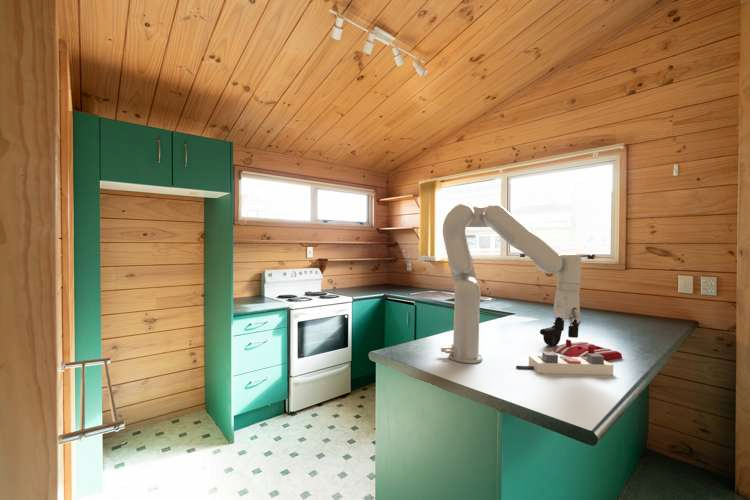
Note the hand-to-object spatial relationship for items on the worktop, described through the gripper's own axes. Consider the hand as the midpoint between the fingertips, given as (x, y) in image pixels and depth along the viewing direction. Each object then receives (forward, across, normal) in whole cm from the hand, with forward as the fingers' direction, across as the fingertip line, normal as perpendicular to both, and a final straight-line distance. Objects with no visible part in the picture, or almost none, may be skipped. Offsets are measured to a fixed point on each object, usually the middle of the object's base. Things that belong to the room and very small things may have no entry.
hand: (565, 333), depth 131 cm
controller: (+13, -28, +8) cm, 32 cm away
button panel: (+12, +3, -3) cm, 13 cm away
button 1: (+10, +4, -8) cm, 13 cm away
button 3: (+9, +5, +8) cm, 13 cm away
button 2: (+11, +5, 0) cm, 12 cm away
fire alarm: (+13, -16, +18) cm, 27 cm away
